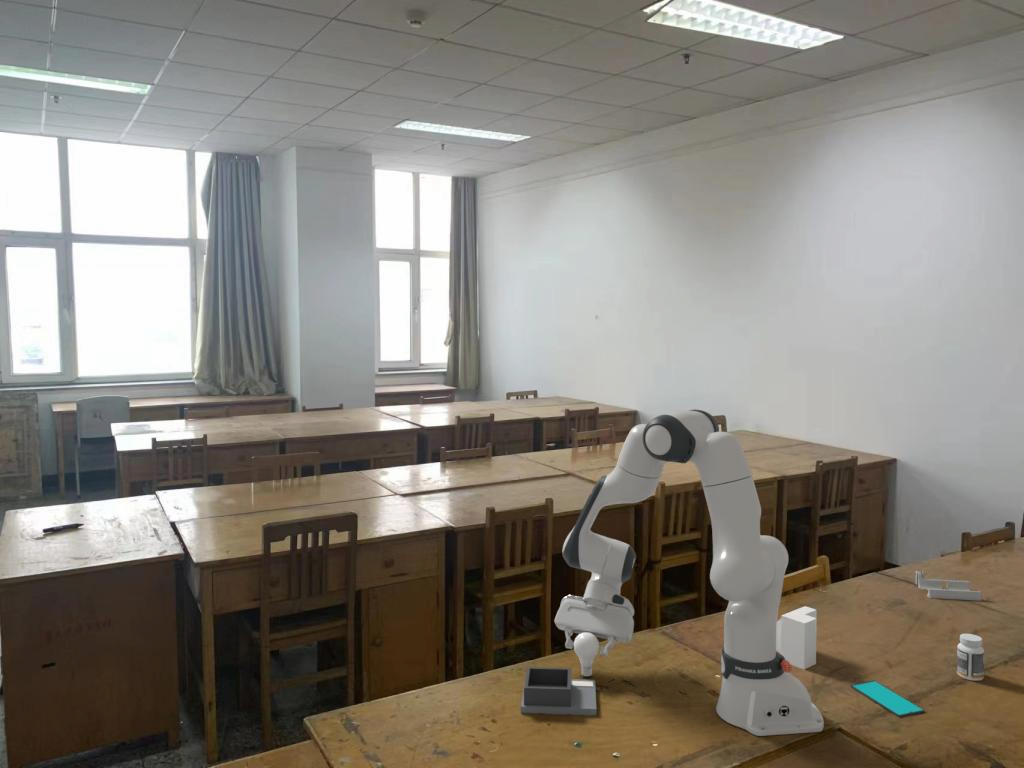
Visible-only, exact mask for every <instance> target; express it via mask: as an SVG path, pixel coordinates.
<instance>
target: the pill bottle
mask: <svg viewBox="0 0 1024 768" xmlns="http://www.w3.org/2000/svg"><path fill="white" fill-rule="evenodd" d="M959 641H960V642H959V643H958V644H957V647H956V648H957V649H956V650H957V651H956V656H957V657H956V674H957V675H958V676H959V677H961V678H962V679H964V680H968V681H974V682H977V681H978V682H980V681H982V680H983V679H984V677H985V650H984V647H983V646H982V645H983V638H982V637H981V636H979V635H976V634H974V633H973V634H972V633H961V634H960V635H959Z"/></svg>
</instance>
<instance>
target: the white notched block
mask: <svg viewBox="0 0 1024 768" xmlns="http://www.w3.org/2000/svg"><path fill="white" fill-rule="evenodd" d="M817 612H818V611H817V609H815V608H812V607H809V606H806V605H805V606H801V607H798V608H797V609H794V610H791V611H790V612H787V613H784V614H782V615H781V616H780V619H777V626H776V650H778V652H779V653H780V654H781V655H782V656H784V658H785V660H786V661H788V662H789V663H790V665H791V666H794V667H796V668H799V669H802V670H806V669H809V668H810V667H813V666H815V665H816V664H817V634H818V633H817V632H818V631H817V628H818V627H817V625H818V623H817V622H818V621H817ZM776 652H777V651H776Z"/></svg>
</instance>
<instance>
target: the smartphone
mask: <svg viewBox="0 0 1024 768" xmlns="http://www.w3.org/2000/svg"><path fill="white" fill-rule="evenodd" d="M850 688H851V689H852V690H853V691H856V692H858V693H859V694H861V695H863V697H865V698H868V700H871V701H872V702H873V703H875V704H876V705H877V706H880V707H881V708H883V709H884V710H886V711H887V712H888V713H891V714H892V715H895V716H896V717H897V718H903V717H909V716H914V715H919V714H923V713H925V709H924V708H922V707H920V706H918V705H917V704H916V703H913V702H912V701H910V700H908V699H907V698H905V697H904V696H901V695H900V694H899V693H897V692H895V691H893V690H892V689H890V688H888V687H887V686H885V685H883V684H881V683H880V682H878V681H876V680H870V681H865V682H859V683H854V684H850Z"/></svg>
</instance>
